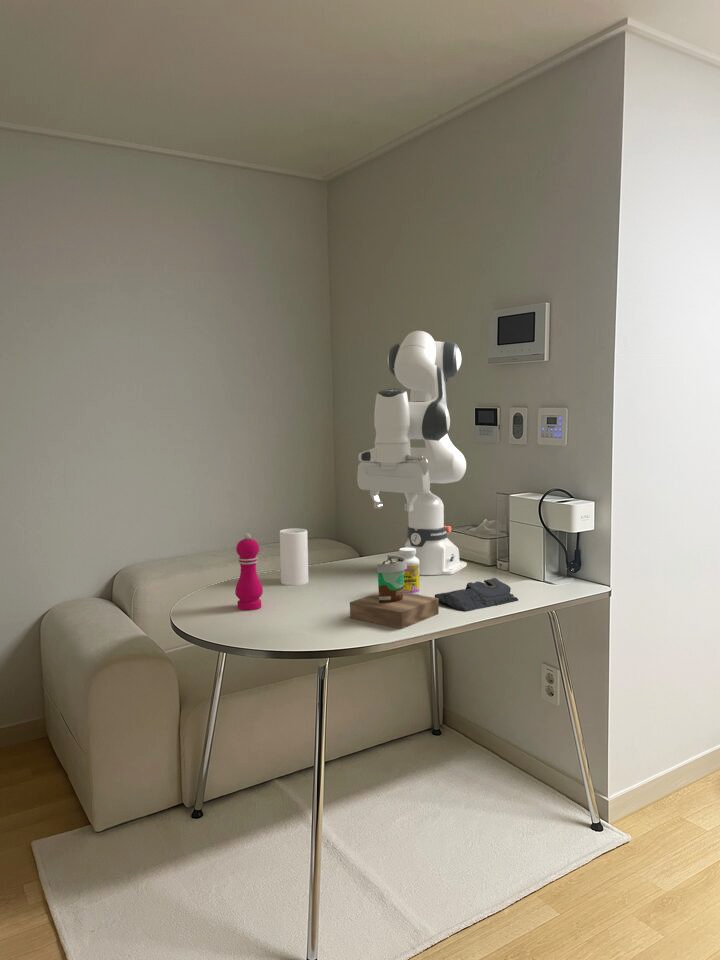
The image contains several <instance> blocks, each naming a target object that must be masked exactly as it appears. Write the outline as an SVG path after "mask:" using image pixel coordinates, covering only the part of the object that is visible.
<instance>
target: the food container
mask: <svg viewBox="0 0 720 960" xmlns="http://www.w3.org/2000/svg"><path fill="white" fill-rule="evenodd" d="M405 569H407V564H406V561H405V559H404V558H402V557H400V555H399V556H398V555H391V554H389V555H387V559H386V560H384V561H383V562H382V563H377V570H376V572H377V583H378V593H379V603H391V602H397V601H400V600H402V599H403V586H404V570H405Z"/></svg>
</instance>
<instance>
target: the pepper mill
mask: <svg viewBox="0 0 720 960" xmlns="http://www.w3.org/2000/svg"><path fill="white" fill-rule="evenodd" d="M251 537H252V535H251V534H250V533H247V532H246V533H245V534H244V535H243V538H244V539H241V540H240V541H238V542H237V545H236V548H235V550H236V554H237V555H238V564H239V565H240V573H239V578H238V581H237V583H236V586H235V593H234V594H235V595H236V597H237V598H238V601H237V609H238V610H241V611H255V610H259V609H261V608H262V599H260V598H261V596H262V595H263V592H264V591H263V584H262V583H261V581H260V578H259V576H258V572H257V564H258V554H259V552H260V546H259V543H258V542H257V541H256V540H255V539H253V538H251Z"/></svg>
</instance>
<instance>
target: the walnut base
mask: <svg viewBox="0 0 720 960" xmlns="http://www.w3.org/2000/svg"><path fill="white" fill-rule="evenodd" d="M439 604H440V601H439V598H435V596H434V597H433V596H432V597H431V596H427V595H422V594H418V595H417V594H411V593H405V592H403V599H402V600H400V601H397V602H391V603H379V592H376V593H373V594H370V595H366V596H365V597H361V598H358V599H355V600H352V601H350V602H349V618H351V619H353V620H359V621H364V622H368V623H371V624H372V623H373V624H378V625H383V626H388V627H392V628H397V629H402V630H403V629H405V628H408V627H410V626H413V625H415V624H418V623H420V622H423V621H424V620H427V619H429V618H431V617H434V616H436V615H439V610H440V607H439V606H440V605H439Z"/></svg>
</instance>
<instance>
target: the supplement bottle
mask: <svg viewBox="0 0 720 960" xmlns="http://www.w3.org/2000/svg"><path fill="white" fill-rule="evenodd" d="M398 553H399V557H402V558H404V559H405V561H406V564H407V569H405V570H404V586H403V592H405V593H411V594H417V595H420V575H419V559H418V558H416V557H415V554H416V549H415V548H409V547H406V548H405V547H401V548H399V550H398Z"/></svg>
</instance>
